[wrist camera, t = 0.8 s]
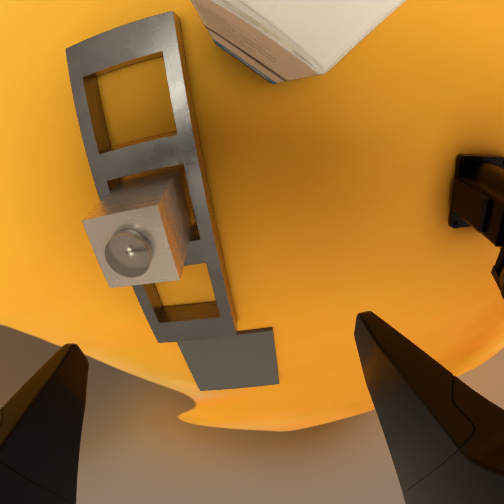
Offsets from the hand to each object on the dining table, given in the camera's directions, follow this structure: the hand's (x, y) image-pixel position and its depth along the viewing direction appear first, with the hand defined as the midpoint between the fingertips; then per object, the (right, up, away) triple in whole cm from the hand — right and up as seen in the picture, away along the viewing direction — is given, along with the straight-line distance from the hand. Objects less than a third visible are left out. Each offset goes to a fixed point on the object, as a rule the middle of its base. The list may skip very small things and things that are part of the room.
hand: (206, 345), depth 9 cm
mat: (-1, -9, +21) cm, 23 cm away
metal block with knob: (-5, +6, +12) cm, 14 cm away
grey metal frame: (-5, +6, +12) cm, 14 cm away
